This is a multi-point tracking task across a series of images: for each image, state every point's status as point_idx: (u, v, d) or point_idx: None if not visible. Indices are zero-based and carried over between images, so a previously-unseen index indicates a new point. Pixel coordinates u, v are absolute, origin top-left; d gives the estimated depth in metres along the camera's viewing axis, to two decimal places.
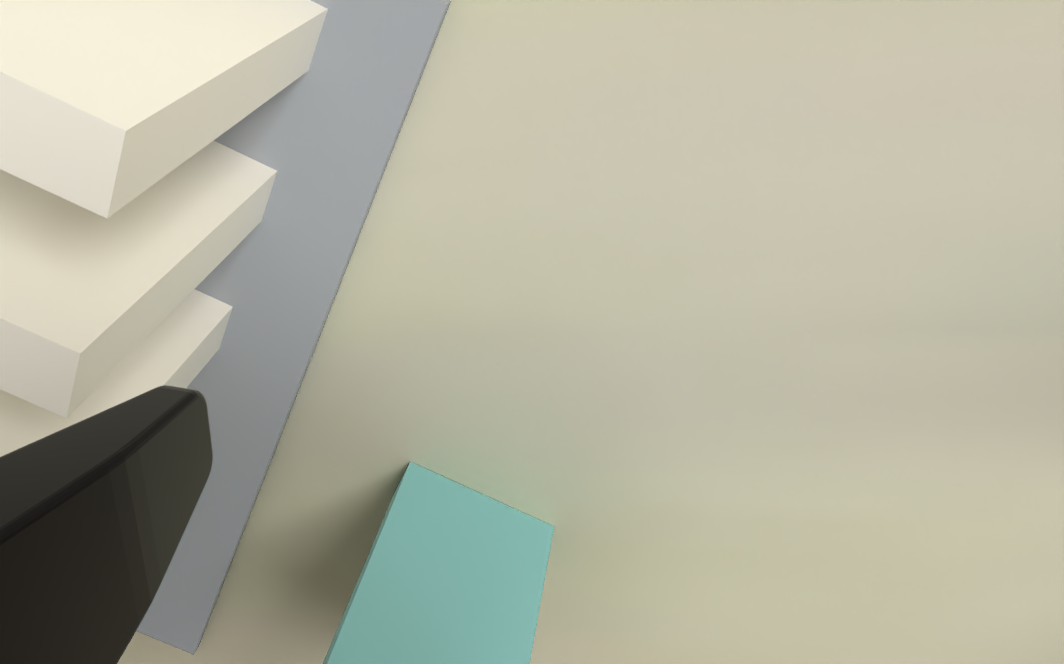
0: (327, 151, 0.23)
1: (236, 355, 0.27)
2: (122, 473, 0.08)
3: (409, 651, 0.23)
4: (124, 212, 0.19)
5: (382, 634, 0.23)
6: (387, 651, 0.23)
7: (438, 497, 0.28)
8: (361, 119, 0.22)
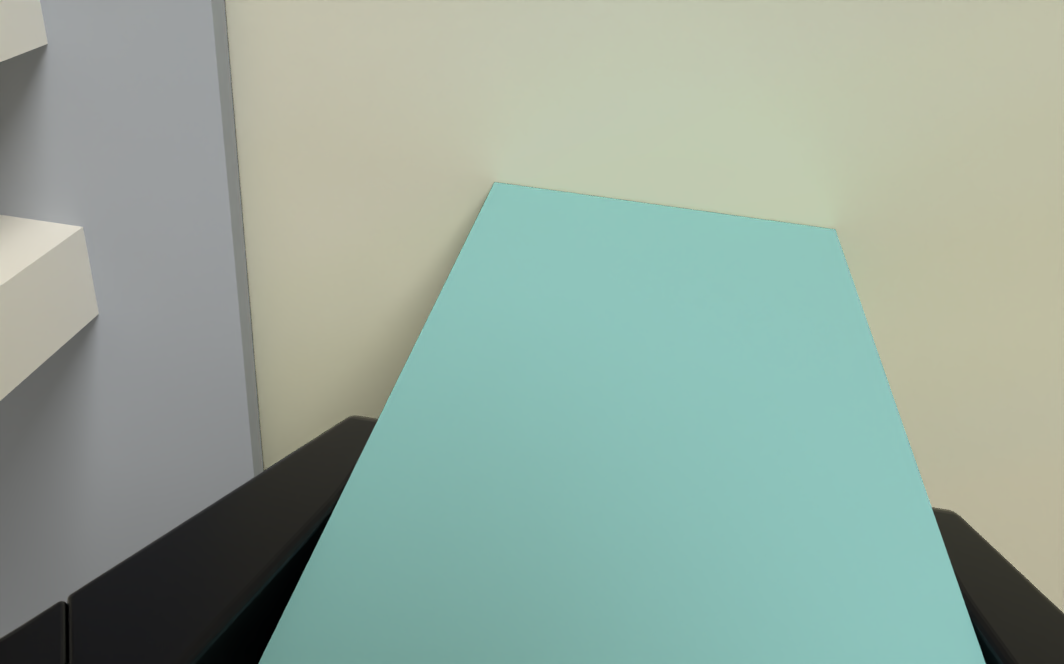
0: None
1: (83, 46, 0.13)
2: None
3: (567, 483, 0.08)
4: None
5: (480, 458, 0.08)
6: (501, 493, 0.08)
7: (568, 219, 0.13)
8: None
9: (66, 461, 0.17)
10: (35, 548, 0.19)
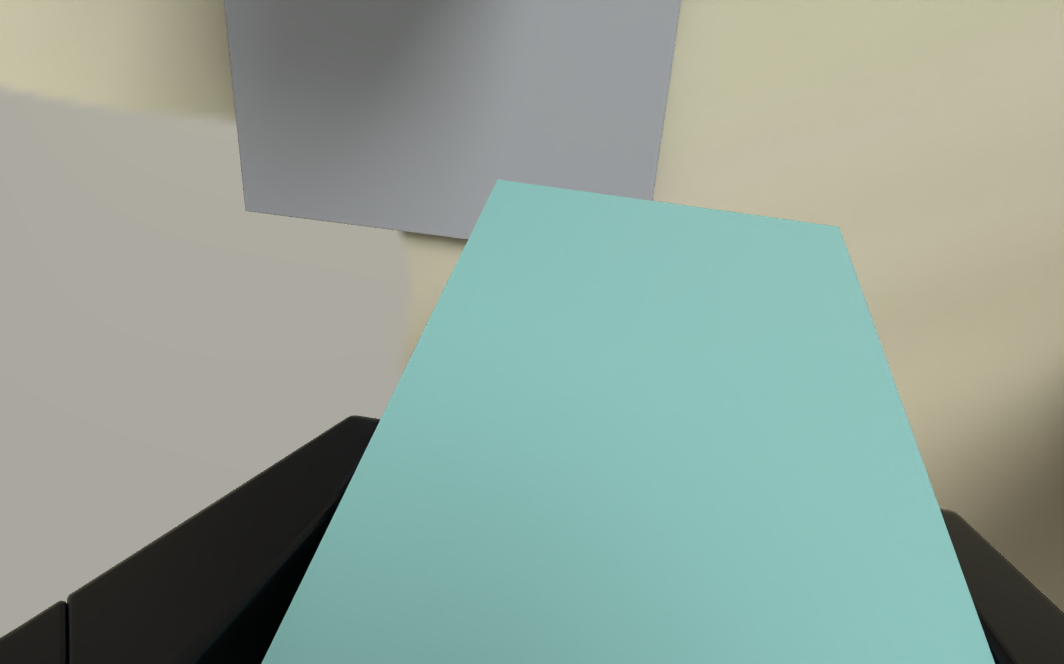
0: None
1: None
2: None
3: (572, 479, 0.08)
4: None
5: (485, 454, 0.08)
6: (506, 489, 0.08)
7: (571, 215, 0.13)
8: None
9: None
10: (449, 90, 0.20)
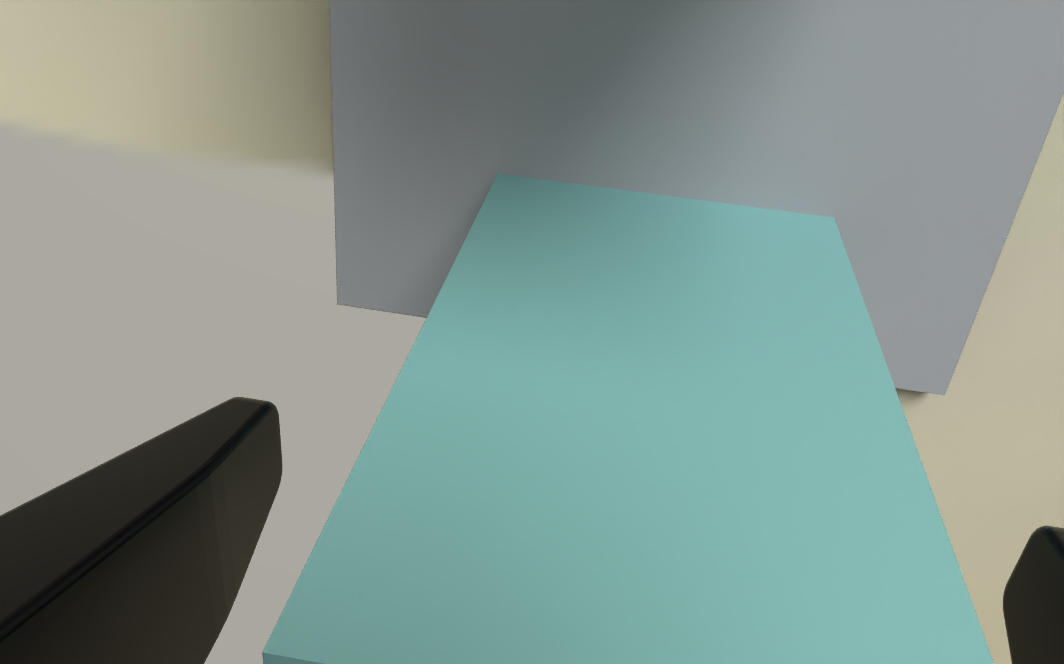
0: None
1: None
2: (207, 487, 0.08)
3: (571, 459, 0.08)
4: None
5: (486, 435, 0.08)
6: (508, 468, 0.08)
7: (570, 208, 0.13)
8: None
9: None
10: (681, 137, 0.13)
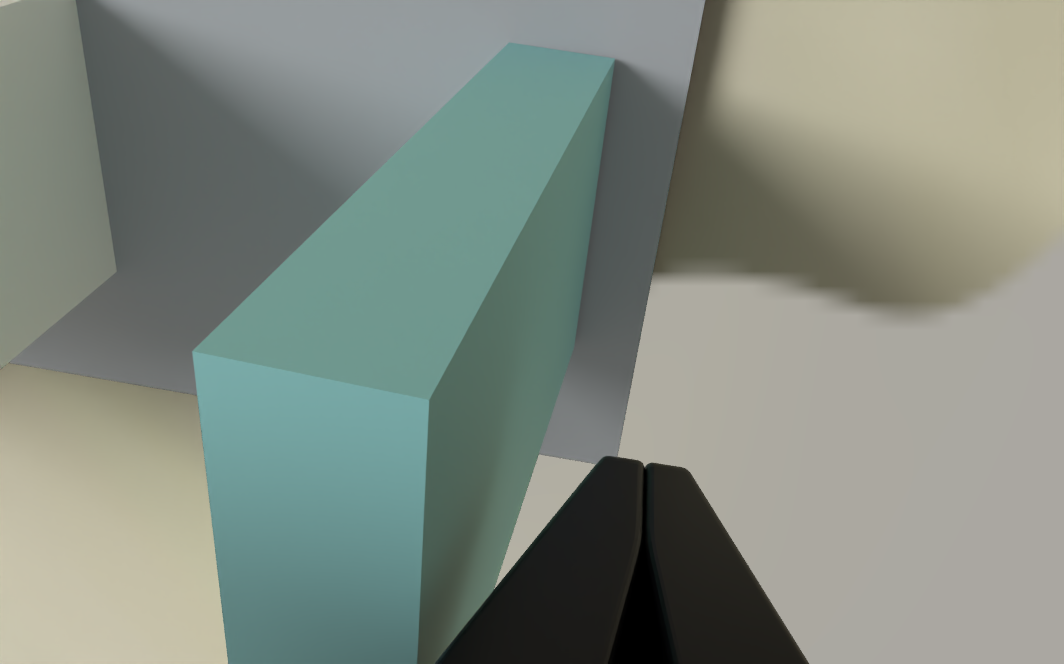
0: None
1: None
2: None
3: None
4: None
5: None
6: None
7: None
8: None
9: (291, 94, 0.14)
10: None
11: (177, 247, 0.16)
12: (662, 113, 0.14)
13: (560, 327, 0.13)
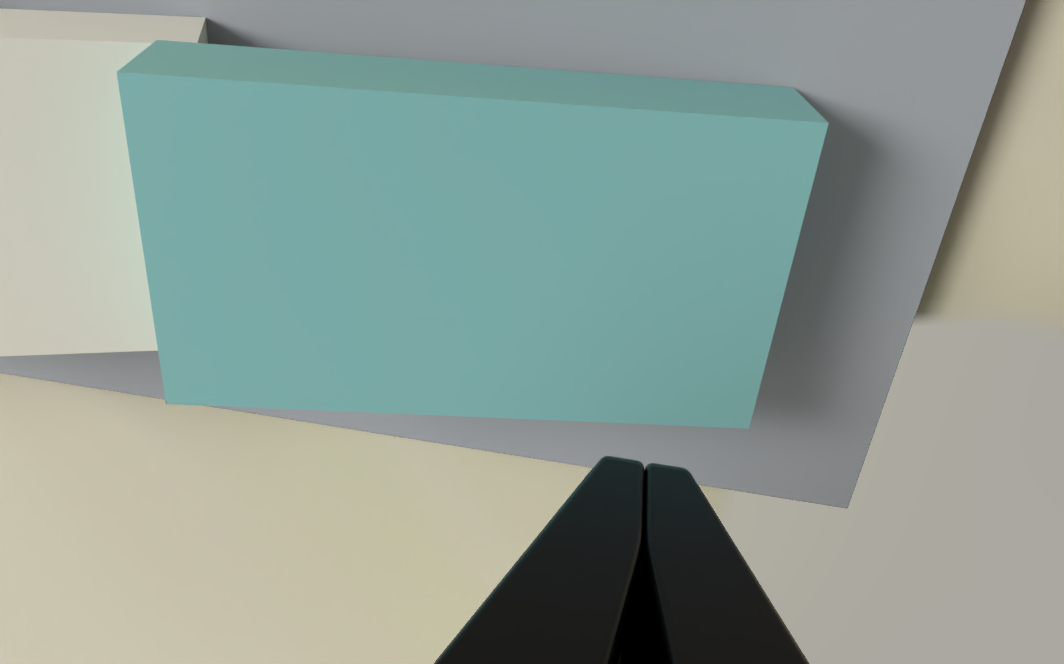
0: None
1: None
2: (639, 560, 0.07)
3: None
4: None
5: None
6: None
7: None
8: None
9: None
10: None
11: None
12: (948, 156, 0.13)
13: (611, 324, 0.13)
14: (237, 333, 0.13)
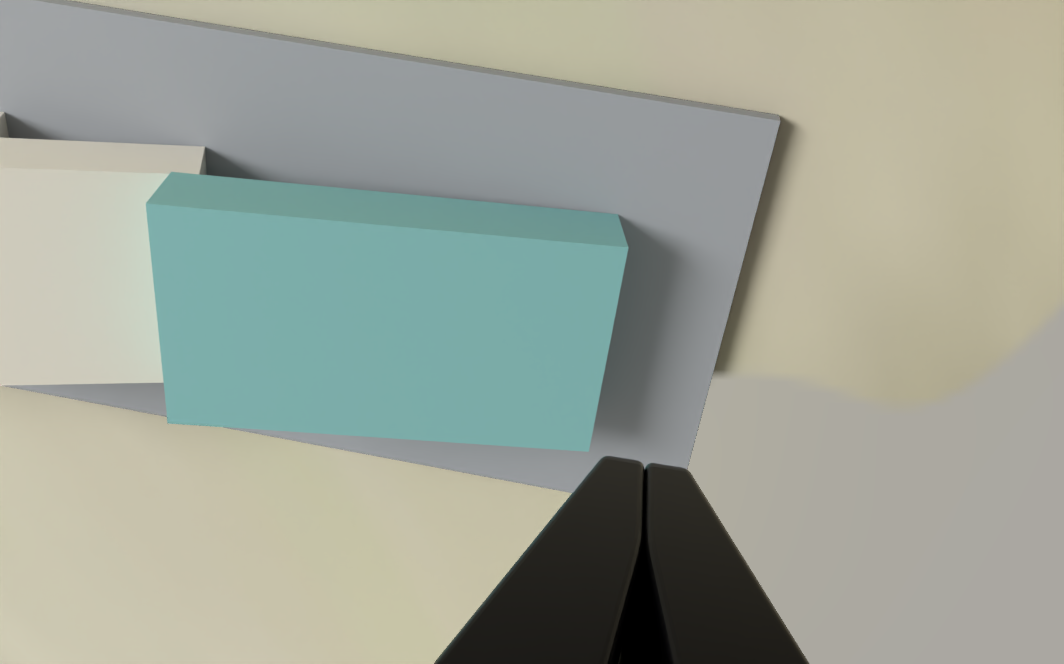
0: None
1: (97, 104, 0.19)
2: (639, 560, 0.07)
3: None
4: None
5: None
6: None
7: None
8: None
9: None
10: None
11: None
12: (726, 264, 0.19)
13: (486, 376, 0.19)
14: (220, 375, 0.19)
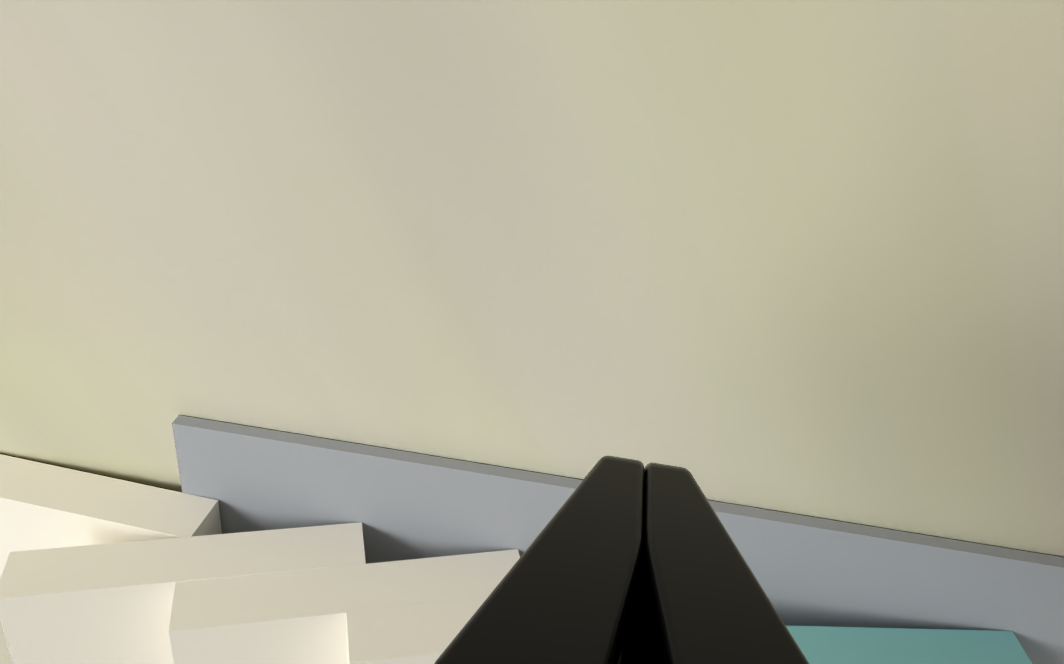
0: (339, 491, 0.25)
1: None
2: (639, 560, 0.07)
3: None
4: None
5: None
6: None
7: None
8: (296, 469, 0.25)
9: None
10: None
11: None
12: None
13: None
14: None
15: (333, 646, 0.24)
